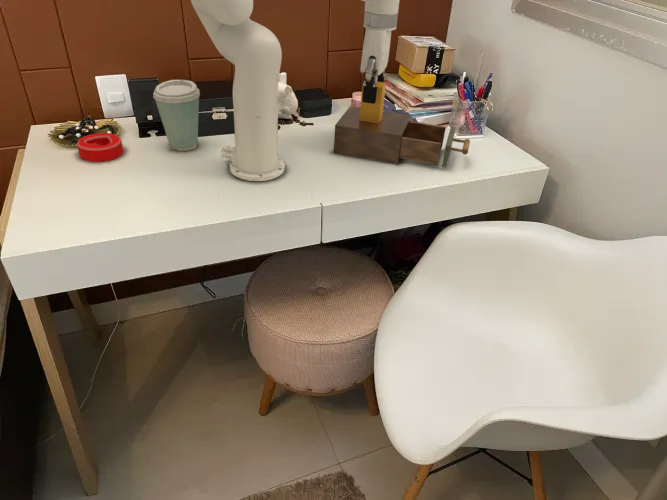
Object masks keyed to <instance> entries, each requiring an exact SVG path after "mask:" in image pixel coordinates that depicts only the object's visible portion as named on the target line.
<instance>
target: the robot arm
mask: <svg viewBox="0 0 667 500" xmlns="http://www.w3.org/2000/svg"><path fill="white" fill-rule="evenodd" d="M361 1H362V2H365V3H364V12H363V13H364V14H363V24H362V27H363V28H364V29H365V32H364V33H365V34H364V38H363V44H362V53H361V60H360V68H359V72H360V73H361V74H365V75H364V81H363V83H364V86H363V97H362V102H365V103H372V104H375V102H376V94H377V87H376V83H377V82H384V83H385V71H386V70H385V69H386V68H387V67H388V63H389V56H390V49H391V39H392V31H395V30H397V25H398V16H399V8H400V0H361ZM190 3H191V5H192V8H193V9H194V11H195V13H196V15H197V16H198V18H199V20H200V23H201V25H202V26H203V27H204V29H205V31H206V33H207V34H208V37H209V38H210V40H211V42H212V43H213V45H214V46H215V48H216V50H217V51H218V52H219V54H220V55H221V56H222V57H224V59H226V60H227V61H228V62H230V63H231V64H233V66H234V75H233V82H232V105H233V107H232V109H233V125H234V126H233V127H234V128H233V129H234V144H235V145H234V146H229V145H225V144H222V145H221V147H220V156H221V158H222V159H223V158H224V159H229V160H231V161H230V163H229V172H230V174H232V175H233V176H234V177H235V178H238V179H240V180H243V181H249V182H266V181H271V180H274V179H276V178H278V177H280V176H282V175H283V174H284V173H285V170H286V169H285V167H286V166H285V165H286V164H285V162H284V161H283V160H282V159H281V158H279V118H278V82H279V73H280V72H281V66H282V59H283V58H282V57H283V53H282V47H281V43H280V41H279V39H278V37H277V36H276V35H275V34H274V33H273V32H272V31H271V29H268V27H266V26H265V25H262V24H260V23H258V22H256V21H254V20H251V18H250V17H251V15H252V13H253V10H254V0H190Z"/></svg>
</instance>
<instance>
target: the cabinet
mask: <svg viewBox="0 0 667 500" xmlns="http://www.w3.org/2000/svg"><path fill="white" fill-rule="evenodd" d="M411 117H412V115H410V114H402V113H396V112H389V111H384V110H383V115H382V119H381V121H380V122H379V124H378V123H372V122H365V121H359V119H360V107H358V106H351V105H350V106H349V107H348V108H347V110H346V111H345V112H344V113H343V114H342V115H341V117H340V118H339V119H338V121H337V122H336V123H335V125H334V135H333V136H334V137H333V154H337V155H341V156H342V155H343V156H347V157H354V158H360V159H366V160H372V161H376V162H384V163H389V164H394V165H398V164H399V162H400V161H401V158H399V153H400V146H401V139H402V136H403V133H404V131H405V129H406V127H407V125H408V123H409V121H412V120H411Z"/></svg>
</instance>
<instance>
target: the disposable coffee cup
mask: <svg viewBox="0 0 667 500" xmlns="http://www.w3.org/2000/svg"><path fill="white" fill-rule="evenodd" d="M152 95H153V96H152V98H153V99H154V101H155V104H156V107H157V110H158V113H159V117H160V119H161V122H162V126H163V129H164V132H165V135H166V138H167V142H168V145H169V146H170V148H171V149H172V150H174V151H178V152H186V151H190V150H193V149H195V148H197V145H198V142H199V116H200V115H199V113H200V111H199V110H200V96H201V91H200V89H199V88H198V86H197V84H196V83H195V82H193V81H192V80H187V79H169V80H167V81H163V82H161V83H159V84H158V85H156V87H155V89H154V91H153V94H152Z"/></svg>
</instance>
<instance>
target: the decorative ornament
mask: <svg viewBox="0 0 667 500" xmlns="http://www.w3.org/2000/svg"><path fill="white" fill-rule="evenodd" d="M76 146H77V150H78V151H77V152H78V156H79V157H80V159H81V160H83V161H87V162H90V163H91V162H92V163H101V162H108V161H109V162H110V161H113V160H116V159H118V158H120V157H121V156H122V155H123V154H124V146H123V140H122V138H121V137H120V136H119V135H117V134H114V133H109V132H99V133H98V132H97V133H93V134H88V135H85V136H83V137H81V138H80V139H78V141H77V142H76Z"/></svg>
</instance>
